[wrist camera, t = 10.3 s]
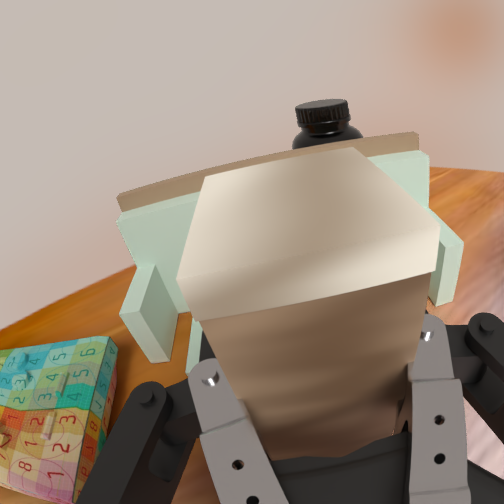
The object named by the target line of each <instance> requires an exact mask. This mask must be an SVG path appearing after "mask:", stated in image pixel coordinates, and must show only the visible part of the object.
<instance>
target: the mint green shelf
mask: <svg viewBox="0 0 504 504" xmlns="http://www.w3.org/2000/svg"><path fill="white" fill-rule="evenodd" d="M349 147H354V148H355V149H356V150H358V151H359V152H360V153H361V154H363V155H364V156H365V157H366V158H368V159H369V160H370V161H371V162H372V163H374V164H375V165H376V166H377V167H378V168H380V169H381V170H382V171H383V172H384V173H385V174H387V175H388V176H389V177H390V178H391V179H392V180H393V181H395V182H396V183H397V184H398V185H399V186H400V187H401V188H402V189H404V190H405V191H406V192H407V193H408V194H409V195H410V196H411V197H412V198H413V199H414V200H416V201H417V202H418V203H419V204H420V205H421V206H422V207H423V208H424V209H425V210H426V211H427V212H428V213H429V214H430V215H431V216H432V217H433V218H434V219H435V220H436V221H437V222H438V223H439V224H440V225H441V226H440V236H439V246H438V254H437V262H436V269H435V271H433V272H432V273H431V280H430V287H429V293H428V296H429V297H430V299H431V300H432V302H433V304H434V305H435V307H436V306H440V305H443V304H446V303H449V302H452V301H453V297H454V292H455V288H456V283H457V279H458V274H459V269H460V263H461V258H462V252H463V246H464V242H463V241H462V240H461V239H460V238H459V237H458V236H457V235H456V234H455V233H454V232H453V231H452V230H451V229H450V228H449V227H448V226H447V225H446V224H445V223H444V222H443V221H442V220H441V219H440V218H439V217H438V216H437V215H436V214H435V213H434V212H433V211H432V210H431V209H430V208H428V205H429V156H428V155H427V154H425V153H423V152H421V151H420V150H419V138H418V134H417V133H415V132H407V133H398V134H389V135H382V136H374V137H367V138H359V139H353V140H346V141H340V142H334V143H328V144H322V145H316V146H310V147H305V148H300V149H294V150H290V151H284V152H279V153H274V154H269V155H265V156H260V157H255V158H251V159H246V160H242V161H237V162H233V163H229V164H225V165H221V166H217V167H212V168H208V169H204V170H201V171H197V172H193V173H189V174H185V175H181V176H178V177H174V178H171V179H167V180H163V181H160V182H156V183H153V184H150V185H146V186H143V187H139V188H136V189H133V190H130V191H126V192H123V193H120V194H119V195H118V196H117V201H118V203H119V205H120V208H121V210H122V214H121V215H120V216H119V218H118V219H117V221H116V223H117V226H118V228H119V230H120V232H121V234H122V237H123V239H124V241H125V243H126V245H127V247H128V250H129V252H130V254H131V256H132V258H133V260H134V262H135V264H136V266H137V270H136V273H135V275H134V277H133V280H132V282H131V285H130V287H129V290H128V292H127V295H126V297H125V300H124V302H123V305H122V308H121V310H120V313H119V315H120V317H121V318H122V320H123V322H124V323H125V325H126V326H127V328H128V329H129V331H130V333H131V334H132V336H133V337H134V339H135V340H136V342H137V343H138V345H139V346H140V348H141V349H142V351H143V352H144V354H145V355H146V357H147V358H148V359H149V361H150V362H151V363H160V362H170V358H171V352H172V347H173V341H174V336H175V330H176V325H177V320H178V314H179V313H185V312H190V309H189V307H188V305H187V303H186V301H185V299H184V296H183V294H182V292H181V290H180V287H179V285H178V283H177V281H176V277H177V273H178V270H179V266H180V262H181V258H182V255H183V251H184V247H185V244H186V240H187V236H188V233H189V229H190V226H191V222H192V219H193V215H194V212H195V209H196V205H197V202H198V198H199V195H200V192H201V188H202V185H203V182H204V179H205V177H206V176H210V175H214V174H218V173H222V172H226V171H230V170H235V169H239V168H244V167H248V166H253V165H257V164H262V163H267V162H272V161H276V160H281V159H286V158H292V157H297V156H302V155H308V154H313V153H319V152H324V151H330V150H336V149H342V148H349ZM202 331H203V329H202V327H201V325H200V323H199V321H196V322H195V320H194V318H193V319H192V326H191V334H190V341H189V348H188V356H187V364H186V372H185V373H186V375H187V376H189V373H190V371H191V370H192V368H193V367H194V366H195V365H196V364H198V363H199V355H200V346H201V336H202Z"/></svg>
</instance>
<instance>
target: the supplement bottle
mask: <svg viewBox="0 0 504 504" xmlns="http://www.w3.org/2000/svg"><path fill="white" fill-rule="evenodd" d="M295 111H296V116H297V120H298V121H297V123H298V126H299V127H301V129H302V131H301V132H300V133H299V134H298V135H297V136H296V137H295V139H294V141H293V144H292V149H293V150H294V149H300V148H305V147H310V146H316V145H322V144H328V143H334V142H340V141H346V140H353V139H359V138H363V136H362V134H361V133H360V132H359V130H357V129H356V128H354V127H352V126H350V125H349V122H348V121H350V120H351V117H350V114H349V109H348V103H347V101H346V100H343V99H327V100H318V101H312V102H308V103H304V104H301V105H298V106H296V108H295Z"/></svg>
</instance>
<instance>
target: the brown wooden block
mask: <svg viewBox="0 0 504 504" xmlns="http://www.w3.org/2000/svg"><path fill="white" fill-rule="evenodd" d="M440 226H441V225H440V224H439V223H438V222H437V221H436V220H435V219H434V218H433V217H432V216H431V215H430V214H429V213H428V212H427V211H426V210H425V209H424V208H423V207H422V206H421V205H420V204H419V203H418V202H417V201H416V200H414V199H413V198H412V197H411V196H410V195H409V194H408V193H407V192H406V191H405V190H404V189H402V188H401V187H400V186H399V185H398V184H397V183H396V182H395V181H393V180H392V179H391V178H390V177H389V176H388V175H387V174H385V173H384V172H383V171H382V170H381V169H380V168H378V167H377V166H376V165H375V164H374V163H372V162H371V161H370V160H369V159H368V158H366V157H365V156H364V155H363V154H361V153H360V152H359V151H358V150H356V149H355V148H354V147H349V148H342V149H336V150H330V151H324V152H319V153H313V154H308V155H302V156H297V157H292V158H286V159H281V160H276V161H272V162H267V163H262V164H257V165H253V166H248V167H244V168H239V169H235V170H230V171H226V172H222V173H218V174H214V175H210V176H206V177H205V179H204V182H203V185H202V188H201V192H200V195H199V198H198V202H197V205H196V209H195V212H194V215H193V219H192V222H191V226H190V229H189V233H188V236H187V240H186V244H185V247H184V251H183V255H182V258H181V262H180V266H179V270H178V273H177V277H176V281H177V283H178V285H179V287H180V290H181V292H182V294H183V296H184V299H185V301H186V303H187V305H188V307H189V309H190V312H191V314H192V316H193V318H194V320H195V322H196V321H199V323H200V325H201V327H202V329H203V331H204V333H205V335H206V338H207V340H208V342H209V344H210V346H211V348H212V350H213V352H214V354H215V356H216V358H217V360H218V362H219V364H220V366H221V368H222V370H223V372H224V374H225V376H226V378H227V380H228V382H229V384H230V386H231V388H232V390H233V392H234V394H235V396H236V398H237V399H243V401H244V403H245V405H246V407H247V409H248V411H249V414H250V416H251V418H252V421H253V423H254V425H255V427H256V429H257V430H259V432H260V434H261V436H262V438H263V440H264V442H265V445H266V447H267V449H268V451H269V453H270V455H271V457H272V459H273V461H275V460H282V459H289V458H296V457H302V456H312V457H343V456H346V455H348V454H350V453H352V452H354V451H356V450H358V449H360V448H362V447H364V446H366V445H368V444H369V443H371V442H373V441H375V440H379V439H382V438H386V437H389V436H391V435H392V432H393V430H394V427H395V420H396V406H397V402H398V400H401V399H404V396H405V389H406V381H405V372H406V368H407V364H408V363H410V362H413V361H414V360H415V356H416V352H417V348H418V344H419V339H420V335H421V330H422V325H423V321H424V315H425V310H426V305H427V299H428V293H429V287H430V280H431V273H432V272H433V271H435V269H436V262H437V254H438V246H439V236H440Z"/></svg>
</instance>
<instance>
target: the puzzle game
mask: <svg viewBox="0 0 504 504" xmlns="http://www.w3.org/2000/svg"><path fill="white" fill-rule="evenodd" d="M117 355H118V347H117V346H116V345H115V343H114V342H113V340H112V339H111V337H106V336H94V337H88V338H82V339H76V340H70V341H63V342H57V343H50V344H44V345H37V346H30V347H23V348H15V349H7V350H0V486H2V487H5V488H8V489H11V490H14V491H17V492H20V493H23V494H26V495H29V496H33V497H36V498H40V499H43V500H47V501H51V502H55V503H59V504H75V503H76V501H77V498H78V496H79V494H80V492H81V490H82V488H83V486H84V484H85V482H86V480H87V478H88V476H89V474H90V472H91V470H92V468H93V466H94V464H95V462H96V460H97V458H98V456H99V454H100V452H101V450H102V448H103V446H104V444H105V442H106V436H107V430H108V425H109V419H110V414H111V409H112V404H113V399H114V394H115V389H116V385H117V369H116V363H117Z"/></svg>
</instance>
